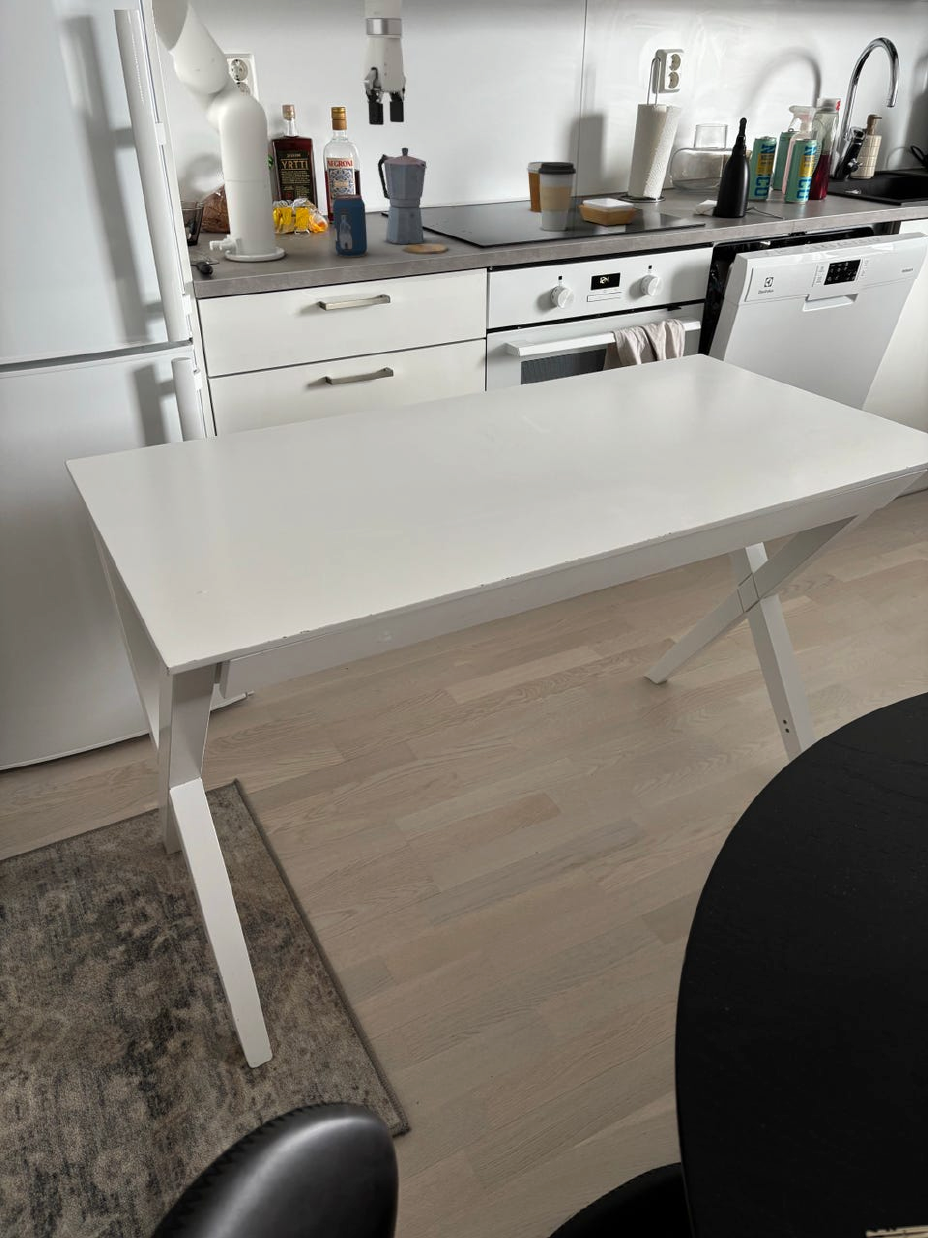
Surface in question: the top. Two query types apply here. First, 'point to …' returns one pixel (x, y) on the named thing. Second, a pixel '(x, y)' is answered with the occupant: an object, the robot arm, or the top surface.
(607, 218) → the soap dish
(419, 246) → the coaster
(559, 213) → the coffee cup
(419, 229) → the moka pot
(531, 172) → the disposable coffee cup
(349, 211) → the soda can
